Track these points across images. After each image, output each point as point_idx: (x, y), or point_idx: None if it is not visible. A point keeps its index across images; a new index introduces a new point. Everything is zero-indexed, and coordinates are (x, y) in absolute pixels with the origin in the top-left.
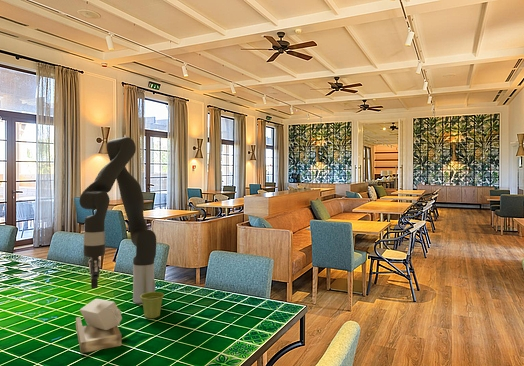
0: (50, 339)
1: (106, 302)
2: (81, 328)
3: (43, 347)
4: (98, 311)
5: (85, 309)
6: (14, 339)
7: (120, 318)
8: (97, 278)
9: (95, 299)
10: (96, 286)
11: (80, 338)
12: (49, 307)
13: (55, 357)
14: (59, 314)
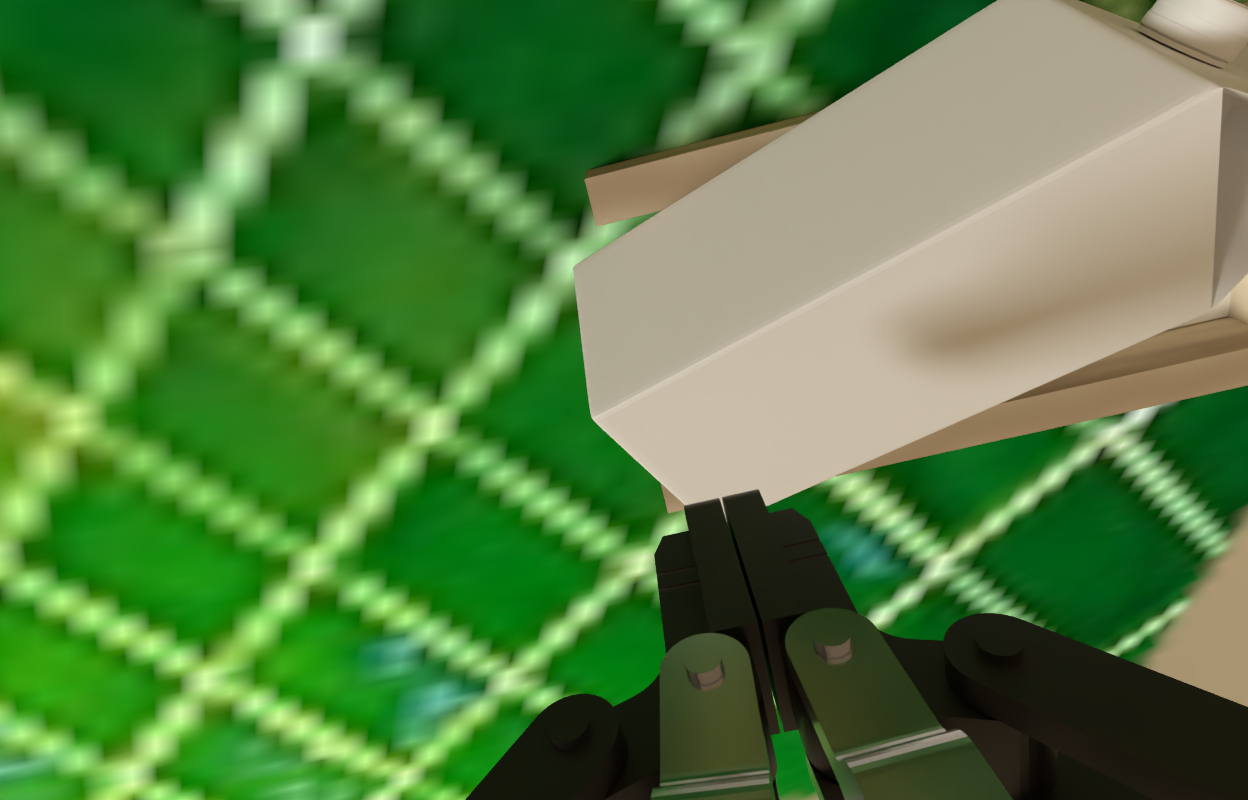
0: (870, 584)
1: (1018, 236)
2: (987, 417)
3: (996, 593)
4: (1162, 310)
5: (816, 473)
6: (785, 766)
7: (1080, 3)
8: (808, 614)
9: (632, 419)
10: (802, 516)
11: (1230, 386)
12: (164, 734)
13: (1210, 490)
14: (341, 637)
